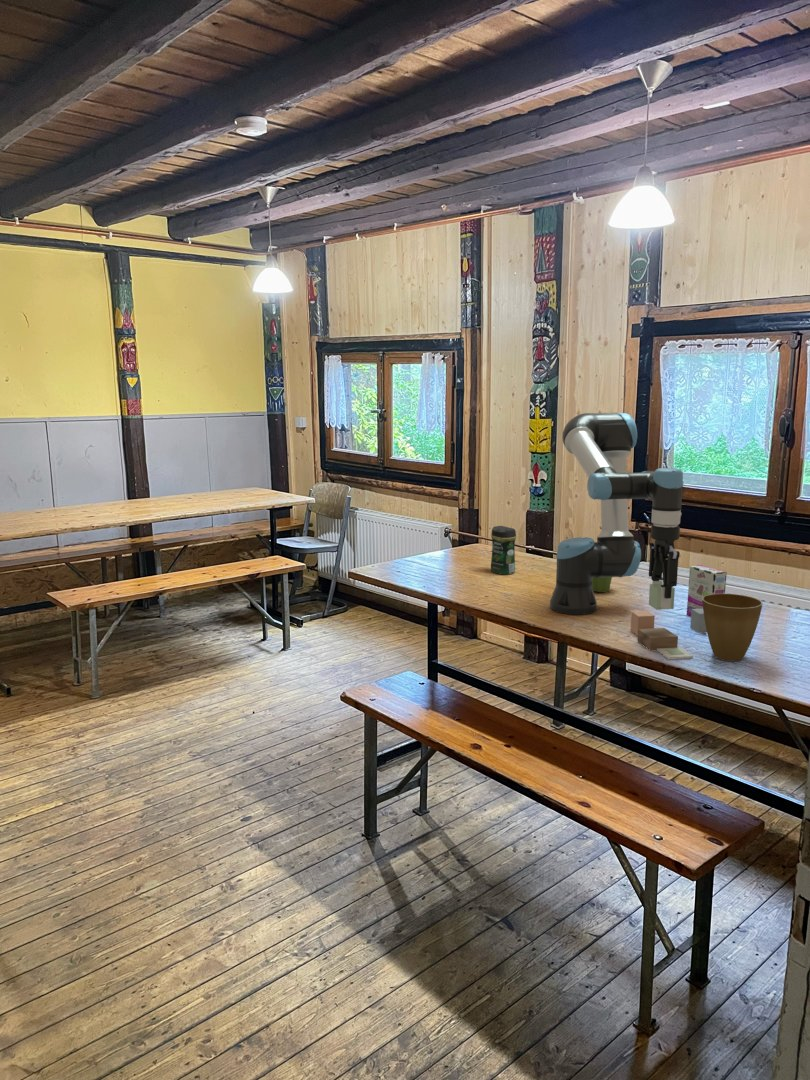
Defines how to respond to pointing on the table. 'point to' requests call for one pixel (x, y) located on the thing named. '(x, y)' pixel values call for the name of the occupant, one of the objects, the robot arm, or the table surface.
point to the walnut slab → (657, 638)
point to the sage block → (658, 596)
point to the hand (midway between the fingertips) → (660, 605)
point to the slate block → (698, 620)
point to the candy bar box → (704, 585)
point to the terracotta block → (641, 621)
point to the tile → (674, 653)
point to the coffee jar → (503, 550)
